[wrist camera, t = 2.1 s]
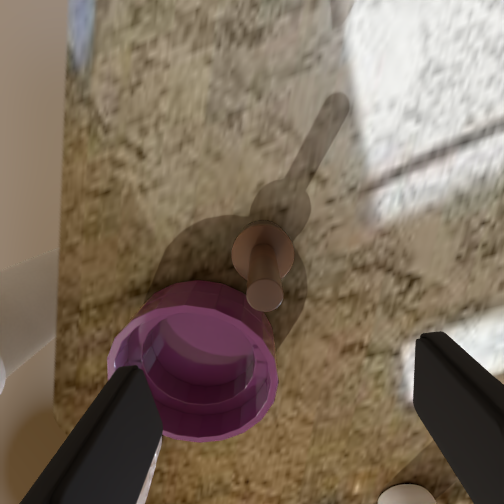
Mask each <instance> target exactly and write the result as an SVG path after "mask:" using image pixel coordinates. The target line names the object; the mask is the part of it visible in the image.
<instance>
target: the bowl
mask: <svg viewBox="0 0 504 504" xmlns="http://www.w3.org/2000/svg"><path fill="white" fill-rule="evenodd" d="M132 365H137V366H138V367H139V369H142V370H143V372H144V374H145V377H146V380H147V382H148V385H149V388H150V390H151V393H152V396H153V399H154V401H155V404H156V407H157V409H158V412H159V415H160V418H161V420H162V423H163V433H162V435H165V436H167V437H170V438H173V439H176V440H184V441H192V442H210V441H220V440H225V439H227V438H230V437H233V436H236V435H239V434H241V433H244V432H245V431H247V430H248V429H250V428H251V427H252V426H254V425H255V424H256V423H258V422H259V421H261V420H262V418H263V417H264V416H265V414H266V413H267V411H268V410H269V408H270V407H271V406H272V404H273V402H274V400H275V395H276V391H277V387H278V383H279V380H278V369H277V359H276V349H275V341H274V335H273V329H272V326H271V324H270V322H269V321H268V319H267V317H266V315H265V314H264V312H261V311H258V310H256V309H254V308H253V307H251V306H250V304H249V303H248V301H247V298H246V294H244V293H242V292H240V291H238V290H235V289H233V288H231V287H229V286H227V285H225V284H222V283H215V282H209V281H202V280H195V281H188V282H181V283H175V284H172V285H170V286H168V287H166V288H164V289H162V290H160V291H158V292H156V293H155V294H153V295H152V296H151V297H150V298H149V299H148V300H147V301H146V302H145V303H144V305H143V306H142V307H141V308H140V309H139V310H138V311H137V312H136V313H135V315H134V316H133V317H132V318H131V319H130V321H129V322H128V323H127V324H126V325H125V326H124V328H123V329H122V330H121V331H120V332H119V333H118V335H117V336H116V337H115V339H114V342H113V344H112V347H111V349H110V352H109V354H108V357H107V370H108V380H109V379H110V378H111V376H112V375H113V373H114V372H115V371H116V370H117V368H119V367H123V366H132Z"/></svg>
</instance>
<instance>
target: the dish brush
mask: <svg viewBox="0 0 504 504" xmlns="http://www.w3.org/2000/svg"><path fill="white" fill-rule="evenodd" d="M231 257H232V262H233V265H234V268H235V269H236V271H237V272H238V273H239V275H240V276H242V277H243V278H244V279H246V280H247V292H246V298H247V301H248V303H249V304H250V306H251V307H253V308H254V309H256V310H258V311H261V312H268V311H272V310H274V309H276V308H277V307H278V306H279V305H280V304H281V303H282V301H283V297H284V293H283V288H282V283H281V279H282V278H283V277H284V276H285V275H286V274H287V273H288V272H289V270H290V269H291V267H292V264H293V261H294V247H293V244H292V242H291V240H290V238H289V237H288V235H287V234H286V233H285V232H284V231H283V230H282V229H281V227H279V226H278V225H277V224H275V223H273V222H270V221H255V222H252V223H250V224H248V225H247V226H246V227H245V228H243V230H242V231H241V232H240V234H239V235H238V236H237V238H236V239H235V242H234V244H233V247H232V253H231Z"/></svg>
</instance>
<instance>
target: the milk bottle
mask: <svg viewBox="0 0 504 504" xmlns="http://www.w3.org/2000/svg"><path fill="white" fill-rule="evenodd" d="M378 504H437V503H436V501H435V499H434V497H433V496H432V495H431V494H430V492H429V491H428V490H426V489H425V488H423V487H421V486H418V485H414V484H403V485H397V486H394V487H391V488H389V489H388V490H386V491H385V492H383V493H382V494H381V496H380V497H379V499H378Z"/></svg>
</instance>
